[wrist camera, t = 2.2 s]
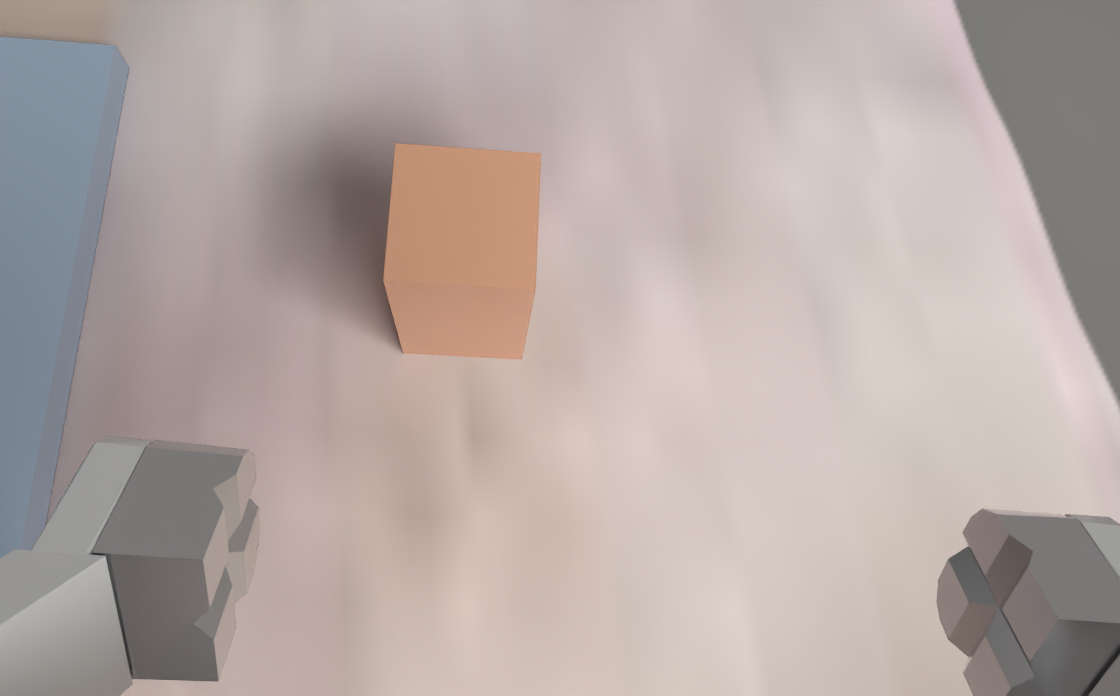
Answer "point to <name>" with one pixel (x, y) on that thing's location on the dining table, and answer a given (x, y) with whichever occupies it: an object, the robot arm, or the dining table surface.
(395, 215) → the terracotta brick
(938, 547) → the dining table surface
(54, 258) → the blue-grey baseplate
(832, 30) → the dining table surface
